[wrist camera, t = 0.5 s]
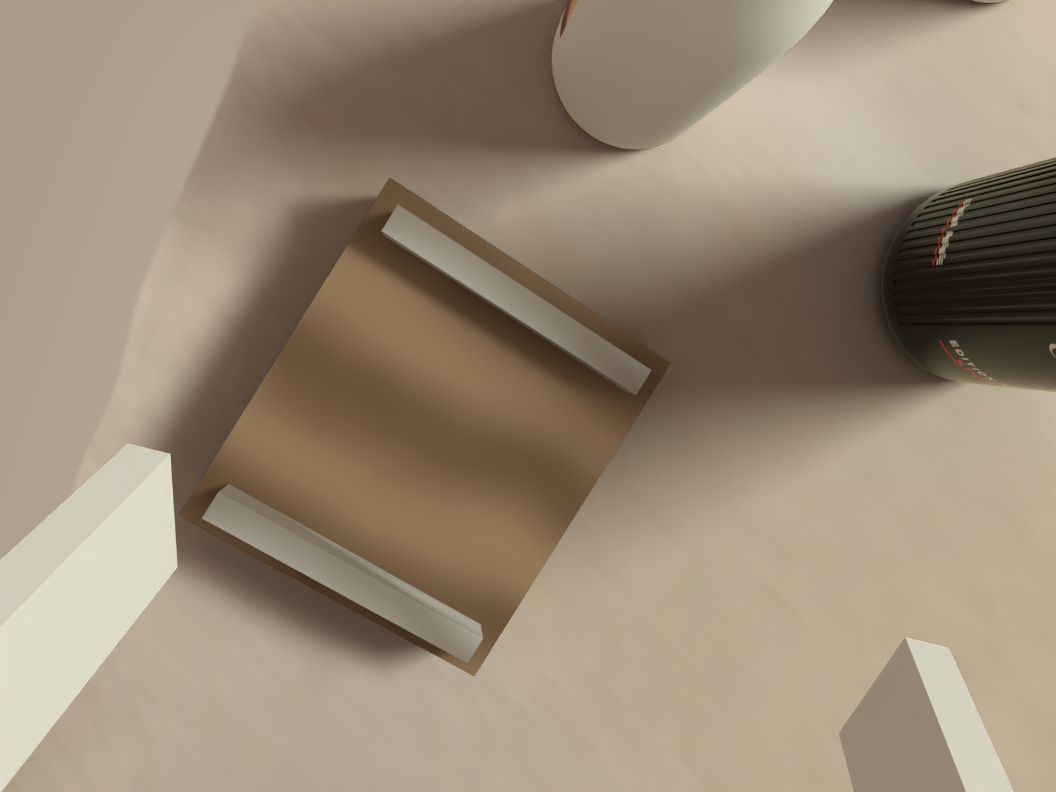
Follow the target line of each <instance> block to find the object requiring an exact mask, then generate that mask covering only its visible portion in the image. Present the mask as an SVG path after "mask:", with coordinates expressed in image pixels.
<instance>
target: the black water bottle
mask: <svg viewBox="0 0 1056 792" xmlns="http://www.w3.org/2000/svg"><path fill="white" fill-rule="evenodd" d="M881 300H882V306H883V311H884V315H885V318H886V321H887V324H888V326H889V329H890V331H891V333H892V335H893V336H894V338H895V340H896V341H897V343H898V344H899V345H900V347H901V348H902V350H903V351H904V352H905V353H906V354H907V355H908V356H909V358H911V359H912V360H913V361H914V362H915V363H916V364H918V365H919V366H920V367H922V368H923V369H925V370H927V371H928V372H930V373H932V374H934V375H937V376H939V377H942V378H945V379H948V380H951V381H956V382H961V383H970V384H980V385H990V386H1000V387H1009V388H1019V389H1029V390H1039V391H1049V392H1056V157H1055V158H1051V159H1048V160H1044V161H1040V162H1037V163H1033V164H1029V165H1026V166H1022V167H1018V168H1015V169H1011V170H1007V171H1003V172H1000V173H996V174H992V175H989V176H985V177H981V178H978V179H974V180H970V181H967V182H963V183H960V184H956V185H953V186H951V187H948V188H946V189H944V190H942V191H940V192H938V193H936V194H935V195H933V196H931V197H929V198H928V199H927V200H925V201H924V202H922V203H921V204H920V205H919V206H918V207H916V208H915V209H914V210H913V211H912V212H911V214H910V215H909V216H908V217H907V218H906V219H905V221H904V222H903V223H902V225H901V226H900V228H899V229H898V231H897V232H896V234H895V236H894V238H893V240H892V242H891V244H890V246H889V249H888V251H887V254H886V257H885V260H884V265H883V269H882V276H881Z"/></svg>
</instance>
